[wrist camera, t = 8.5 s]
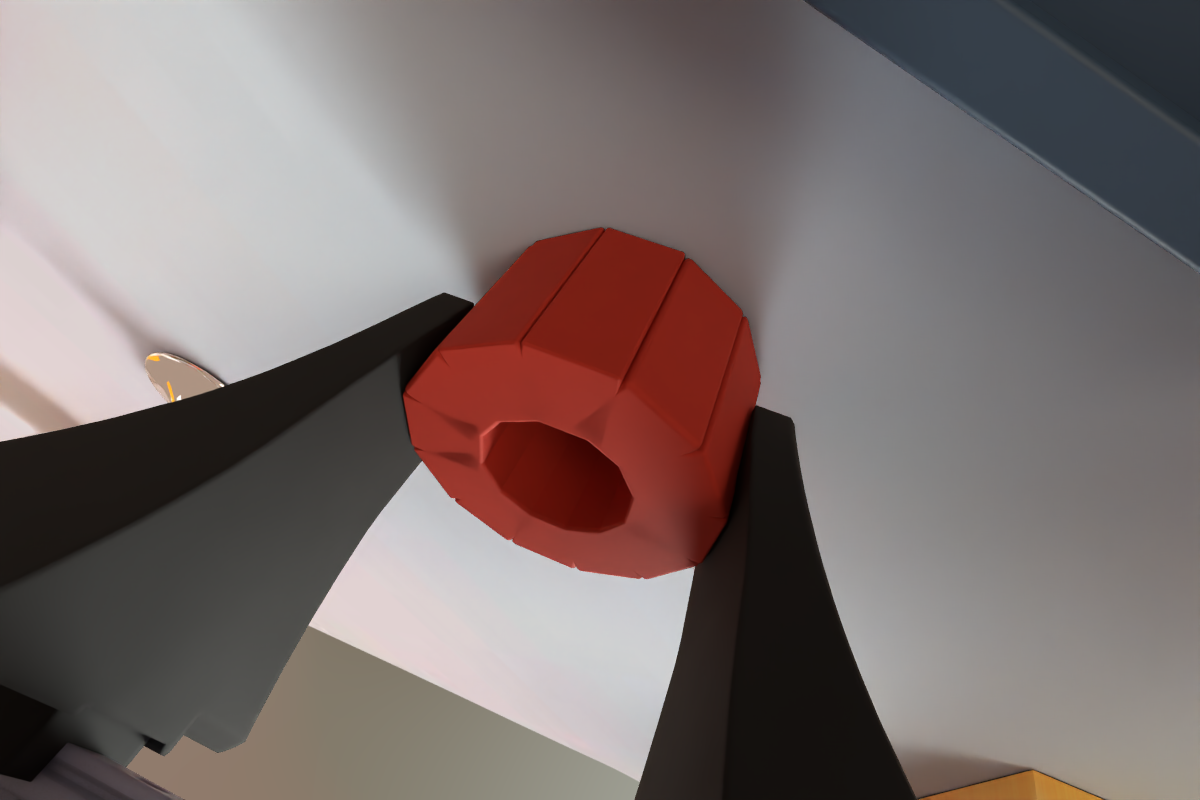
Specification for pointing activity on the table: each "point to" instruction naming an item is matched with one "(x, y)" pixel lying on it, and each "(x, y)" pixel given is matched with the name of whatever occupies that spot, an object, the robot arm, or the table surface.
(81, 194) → the table surface
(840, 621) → the robot arm
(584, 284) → the ring
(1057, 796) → the bread
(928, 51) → the tray
